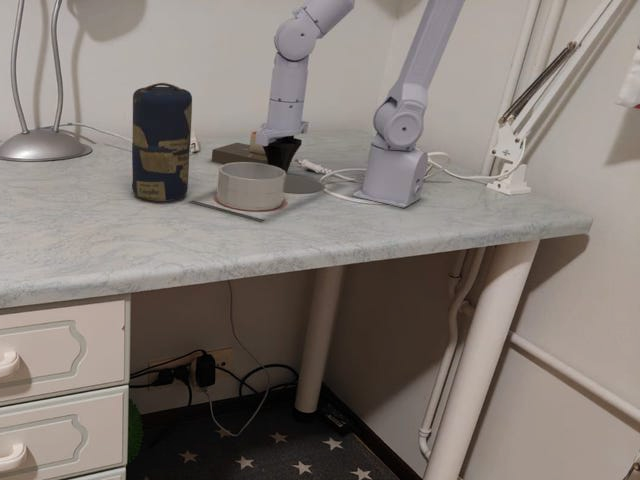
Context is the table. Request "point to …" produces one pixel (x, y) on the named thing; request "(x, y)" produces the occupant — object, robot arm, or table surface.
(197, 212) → the table surface
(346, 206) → the table surface
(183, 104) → the canister
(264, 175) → the pot
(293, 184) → the hob
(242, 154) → the dial box
